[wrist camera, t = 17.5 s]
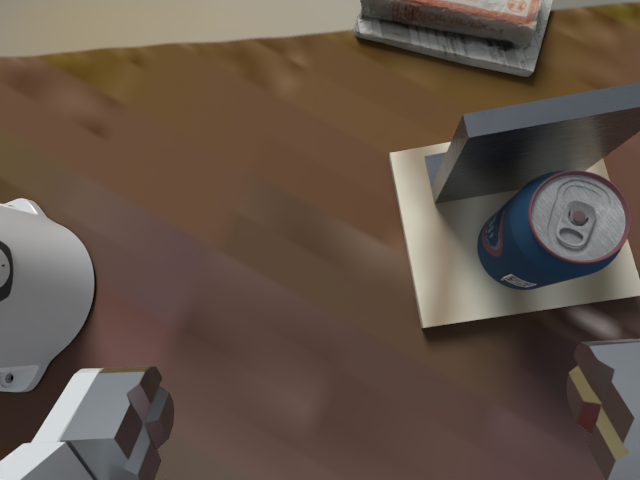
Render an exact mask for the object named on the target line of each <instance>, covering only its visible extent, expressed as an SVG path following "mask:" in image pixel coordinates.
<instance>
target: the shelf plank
mask: <svg viewBox="0 0 640 480" xmlns="http://www.w3.org/2000/svg"><path fill="white" fill-rule="evenodd" d="M450 143H451V142H448V143H443V144H437V145H432V146H426V147H420V148H415V149H409V150H404V151H398V152H393V153H390V155H389V162H390V167H391V172H392V177H393V182H394V188H395V193H396V198H397V203H398V209H399V214H400V219H401V224H402V229H403V235H404V240H405V245H406V250H407V255H408V261H409V266H410V271H411V276H412V281H413V287H414V292H415V297H416V302H417V308H418V313H419V318H420V323H421V328H426V327H432V326H439V325H446V324H453V323H459V322H466V321H473V320H479V319H486V318H493V317H500V316H506V315H513V314H520V313H526V312H533V311H540V310H547V309H553V308H560V307H567V306H573V305H580V304H587V303H594V302H600V301H607V300H614V299H620V298H627V297H634V296H640V279H639V276H638V272H637V269H636V266H635V263H634V259H633V256H632V253H631V249H630V246H629V243H628V239H627V240H626V242H625V243H624V245H623V246H622V248H621V250H620V252H619V253H618V255H617V256H616V258H615V259H614V260H613V261H612V262H611V263H610V264H609V265H607V266H606V267H605V268H603V269H602V270H600V271H598V272H595V273H593V274H590V275H586V276H582V277H579V278H575V279H571V280H567V281H563V282H559V283H555V284H552V285H548V286H544V287H540V288H536V289H531V290H517V289H512V288H509V287H506V286H504V285H502V284H500V283H498V282H497V281H495V280H494V279H493V278H492V277H491V276H490V275H489V274H488V273H487V272H486V271H485V269H484V268H483V266H482V264H481V262H480V259H479V256H478V250H477V243H478V237H479V234H480V231H481V229H482V227H483V225H484V224H485V223H486V221H487V220H488V219H489V218H490V217H491V216H493V215H494V214H495V213H496V212H497V211H498V210H499V209H500V208H501V207H502V206H503V205H505V204H506V203H507V202H508V201H509V200H510V199H511V198H512V197H513V196H514V195H515V194H516V193H518V192H519V191H520V190H521V189H520V190H514V191H508V192H502V193H496V194H491V195H485V196H479V197H473V198H467V199H461V200H455V201H449V202H443V203H437V204H434V201H433V196H432V191H431V186H430V181H429V177H428V172H427V167H426V162H425V158H424V157H425V156H428V155H433V154H439V153H444V152H447V150H448V148H449V145H450ZM586 171H588V172H592V173H595V174H598V175H600V176H602V177H604V178H606V179H607V180H609V177H608V173H607V170H606V167H605V163H604V160H603V158H602V159H601V160H600V161H598V162H597V163H596V164H594V165H593V166H592V167H590V168H589V169H587V170H586ZM609 181H610V180H609Z"/></svg>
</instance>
